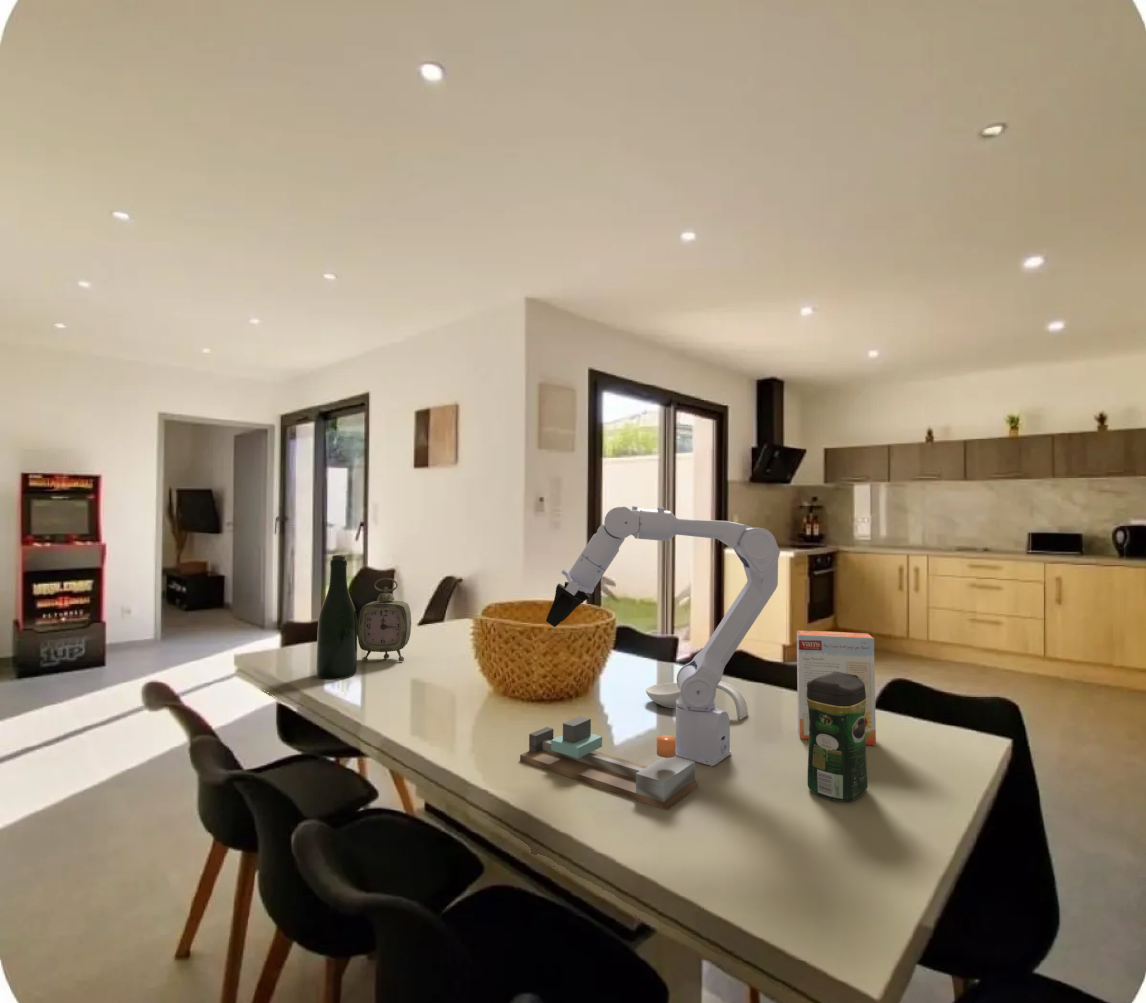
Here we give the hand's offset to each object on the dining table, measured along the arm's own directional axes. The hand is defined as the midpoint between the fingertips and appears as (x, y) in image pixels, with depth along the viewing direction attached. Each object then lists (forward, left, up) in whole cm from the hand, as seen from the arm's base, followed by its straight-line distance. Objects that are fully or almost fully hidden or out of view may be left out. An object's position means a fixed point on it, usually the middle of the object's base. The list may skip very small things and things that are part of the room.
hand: (554, 621), depth 118 cm
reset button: (-26, +4, -18) cm, 32 cm away
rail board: (-14, +4, -24) cm, 28 cm away
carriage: (-8, +4, -21) cm, 23 cm away
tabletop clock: (+86, -22, -24) cm, 92 cm away
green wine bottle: (+81, -3, -24) cm, 84 cm away
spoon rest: (-10, -39, -24) cm, 47 cm away
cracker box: (-40, -39, -24) cm, 61 cm away
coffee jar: (-47, -14, -24) cm, 55 cm away
